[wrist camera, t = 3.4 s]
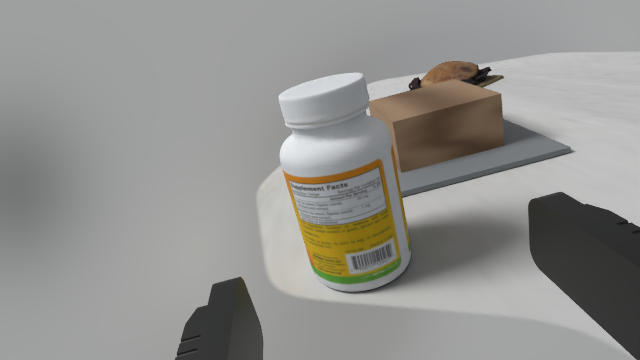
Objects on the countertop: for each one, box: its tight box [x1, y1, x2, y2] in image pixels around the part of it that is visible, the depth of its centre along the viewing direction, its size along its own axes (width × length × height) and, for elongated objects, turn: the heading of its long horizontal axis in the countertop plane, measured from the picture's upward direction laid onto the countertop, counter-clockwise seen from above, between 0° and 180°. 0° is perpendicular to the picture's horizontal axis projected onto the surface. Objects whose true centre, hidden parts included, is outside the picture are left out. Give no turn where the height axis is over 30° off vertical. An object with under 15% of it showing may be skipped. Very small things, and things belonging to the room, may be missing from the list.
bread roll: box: [409, 61, 504, 91], centre depth 52 cm, size 11×8×4 cm
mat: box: [397, 119, 570, 197], centre depth 33 cm, size 14×12×1 cm
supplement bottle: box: [279, 73, 411, 292], centre depth 20 cm, size 5×5×10 cm
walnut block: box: [369, 79, 504, 173], centre depth 33 cm, size 8×8×4 cm
